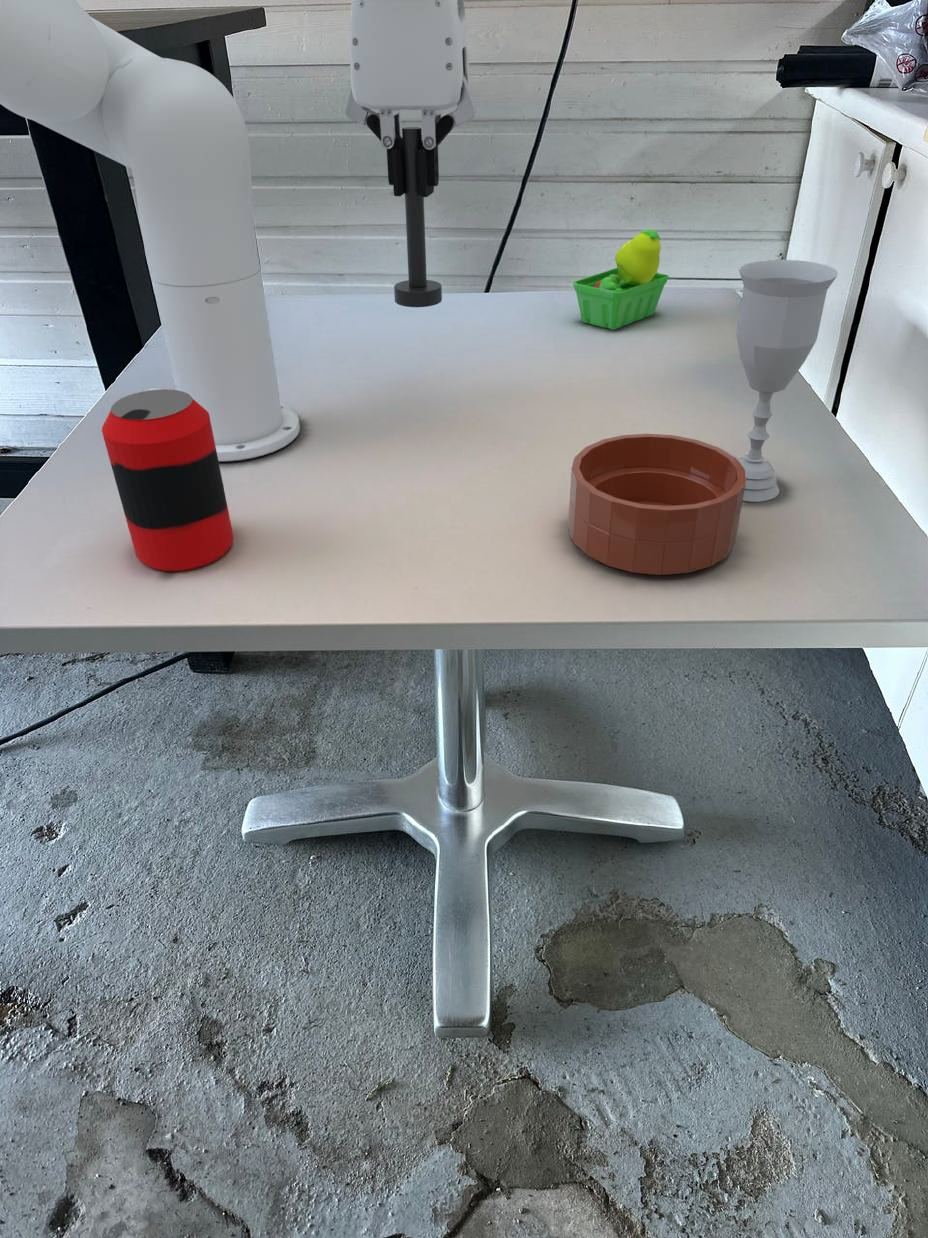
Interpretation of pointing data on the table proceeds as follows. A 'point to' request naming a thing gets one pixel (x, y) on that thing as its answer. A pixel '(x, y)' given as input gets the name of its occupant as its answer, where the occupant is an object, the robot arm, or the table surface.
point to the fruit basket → (624, 285)
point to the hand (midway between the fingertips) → (414, 192)
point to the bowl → (655, 503)
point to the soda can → (168, 479)
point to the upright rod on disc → (415, 232)
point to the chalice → (776, 345)
